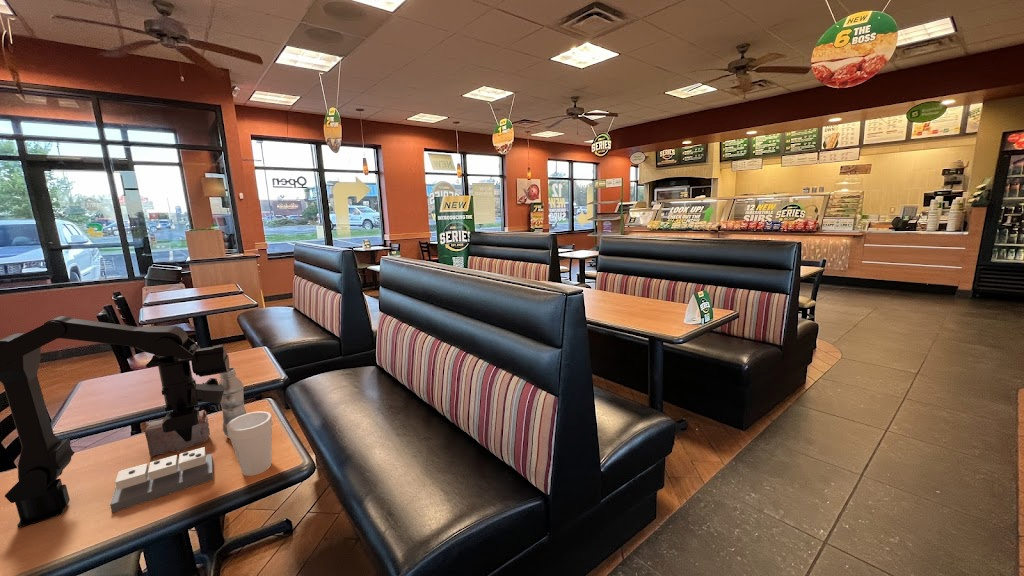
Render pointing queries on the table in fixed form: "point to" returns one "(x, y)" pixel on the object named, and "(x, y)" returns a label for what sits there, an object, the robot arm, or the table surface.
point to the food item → (175, 436)
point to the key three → (192, 458)
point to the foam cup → (252, 441)
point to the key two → (163, 467)
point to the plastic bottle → (231, 397)
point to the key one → (132, 476)
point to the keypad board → (162, 485)
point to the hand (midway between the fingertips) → (188, 440)
